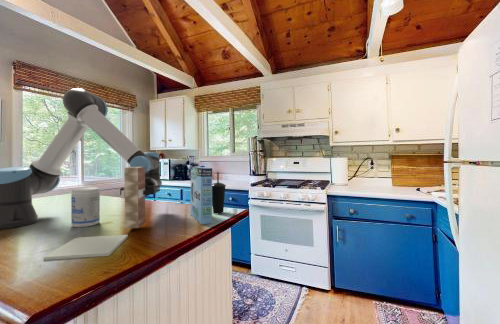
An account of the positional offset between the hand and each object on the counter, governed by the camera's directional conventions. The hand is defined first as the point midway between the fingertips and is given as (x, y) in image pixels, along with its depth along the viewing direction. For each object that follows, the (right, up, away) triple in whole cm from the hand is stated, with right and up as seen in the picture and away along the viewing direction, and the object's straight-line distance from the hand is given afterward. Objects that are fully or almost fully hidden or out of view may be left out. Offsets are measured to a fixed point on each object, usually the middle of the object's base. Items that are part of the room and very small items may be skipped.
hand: (131, 194), depth 86 cm
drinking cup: (+27, -14, +32) cm, 44 cm away
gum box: (+21, -14, +20) cm, 32 cm away
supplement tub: (-24, -14, +13) cm, 31 cm away
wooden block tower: (-1, -12, +5) cm, 14 cm away
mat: (-6, -14, -13) cm, 20 cm away
